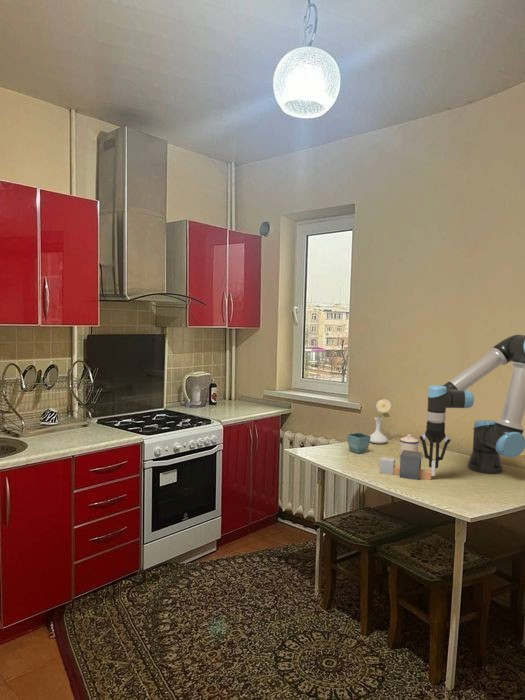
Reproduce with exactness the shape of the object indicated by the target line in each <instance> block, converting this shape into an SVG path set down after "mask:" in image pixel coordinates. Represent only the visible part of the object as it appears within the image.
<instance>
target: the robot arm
mask: <svg viewBox="0 0 525 700" xmlns="http://www.w3.org/2000/svg"><path fill="white" fill-rule="evenodd" d="M508 363H511V364H512V365H513V369H512V373H511V377H510V381H509V385H508V388H507V393H506V396H505V400H504V404H503V407H502V410H501V415H500V417H499V419H498V420H485V419H484V420H481V419H479V420H476V421H474V423H473V424H474V425H473V438H472V440H473V442H472V451H471V454H470V456H469V459H468V460H467V461H468V462H467V468H468V469H469V470H472V471H475V472H479V473H482V474H483V473H484V474H494V475H495V474H501V473H503V469H504V466H503V463H502V458H501V456H503V457H506V458H516V457H517V456H519V455H521V454H522V453H523V452H524V451H525V436H524V435H523V433H524V427H523V426H522V422H523V419H524V416H525V334H514V335H511V336H508V337H506V338H504V339H503V340H501V341H500V342H498V343H496V344H495V345H494V346H492V347H491V348H490V351H489V352H488V353H487V354H485V355H483V356H482V357H481V358H480V359H478V360H476V361H475V362H474V363H472V364H471V365H470V366H468V367H467V368H465V369H464V370H463V371H461V372H460V373H458V374H457V375H456V376H454V377H453V378H451V379H450V380H449V381H447V382H446V383H444V384H443V385H442V384H440V385H437V384H435V385H429V387H428V392H427V410H426V420H427V421H426V427H425V429H426V430H425V432H424V433H423V434H421V435H420V436H419V440H420V441H421V445H422V449H423V454H424V458H425V459H428V467H429V468H431V477H435V476H436V469H438V468H439V461H443V459H444V457H445V454H446V451H447V447H448V445H449V443H451V440H452V439H451V437H450V438H449V437H448V436H446V435H447V434H446V433H445V431H446V415H447V414H446V413H447V409H468V408H469V409H470V408H472V407H473V406H474V402H475V396H474V393H473V392H471V391H469V390H468V389H469V388H471V387H472V386H473V385H475V384H476V383H478V382H479V381H480V380H482V379H483V378H485V377H486V376H488V375H489V374H490V373H492V372H493V371H494V370H496V369H498V367H499V368H500V366H501V365H502V366H505V365H507V364H508ZM426 439H427V440H428V441H429V452H428V447H427V443H426ZM443 440H444V444H443V448H442V449H441V453H440V444H441V443H442V442H443ZM434 443H435V458H434V457H433V455H434V454H433V453H434V452H433V451H434ZM433 458H434V459H433Z"/></svg>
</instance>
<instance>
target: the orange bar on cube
mask: <svg viewBox="0 0 525 700" xmlns="http://www.w3.org/2000/svg"><path fill="white" fill-rule="evenodd" d="M378 472H379V474H385V475H391V476H392V475H393V476H399V475H400V465H396V458H392V457H384V456H381V457H380V459H379V470H378ZM419 479H422V480H429V481H431V480H432V476H431V470H429V469H423V468H421V469H419Z"/></svg>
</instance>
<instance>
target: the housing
mask: <svg viewBox="0 0 525 700" xmlns="http://www.w3.org/2000/svg"><path fill="white" fill-rule="evenodd" d="M422 454H423V453H422V451H418V452H416V451H408V450H403V451H402V453H401V456H400V455H399V457H400V458H399V461H400V462H399V466H400V475H398V476H399V478H401V479H408V480H415V481H419V480H420V478H419V469H422Z"/></svg>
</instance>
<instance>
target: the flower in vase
mask: <svg viewBox="0 0 525 700" xmlns="http://www.w3.org/2000/svg"><path fill="white" fill-rule="evenodd" d="M375 407H376V410H377V411H378V412H380V413H381V415H380V414H379V413H377V412H375V414H376V415H378V416H377V417H374V418H373V419H374V421H375V431H374V432H372V433H371V434H369V436H371V438H370V443H373V444H387V443H388V441H389V439H388V437H387V436H385V435H384V434H383V433H382V432H381V424H382V421H383V420H384V418H390V417H391V416H390V414H389V413H388V412H389V411H390V409H391V408H392V404H391V401H390V400H388V399H385V398H384V399H381V400H378V401H377V402H376V405H375ZM382 416H383V417H384V418H383V417H382Z"/></svg>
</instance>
